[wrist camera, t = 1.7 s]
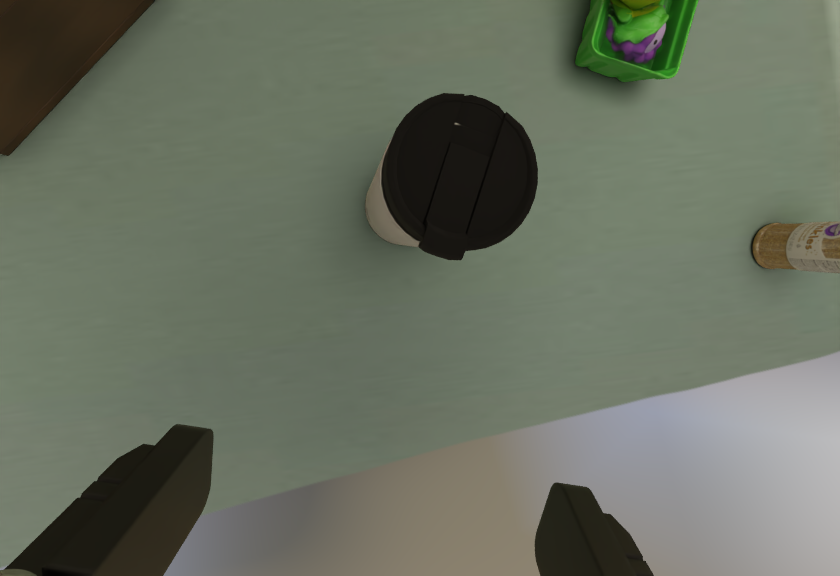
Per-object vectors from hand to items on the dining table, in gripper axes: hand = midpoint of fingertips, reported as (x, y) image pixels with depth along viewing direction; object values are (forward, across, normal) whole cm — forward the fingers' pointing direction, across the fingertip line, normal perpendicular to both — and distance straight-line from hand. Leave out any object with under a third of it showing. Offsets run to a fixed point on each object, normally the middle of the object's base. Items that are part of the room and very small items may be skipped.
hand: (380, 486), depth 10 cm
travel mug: (+28, +1, -4) cm, 28 cm away
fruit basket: (+33, -14, -22) cm, 42 cm away
